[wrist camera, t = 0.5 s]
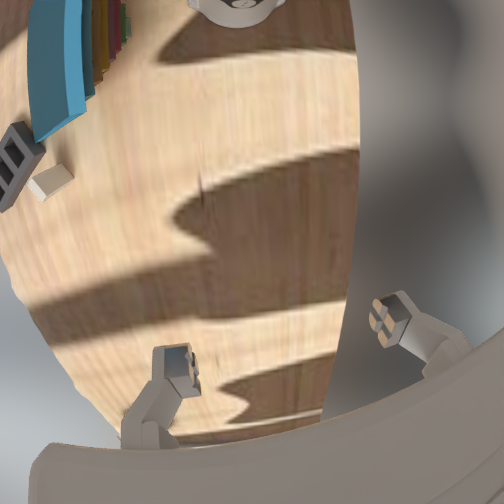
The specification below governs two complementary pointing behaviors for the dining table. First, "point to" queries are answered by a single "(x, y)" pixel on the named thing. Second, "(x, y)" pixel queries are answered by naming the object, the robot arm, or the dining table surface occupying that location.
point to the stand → (17, 162)
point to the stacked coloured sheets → (69, 57)
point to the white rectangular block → (50, 182)
